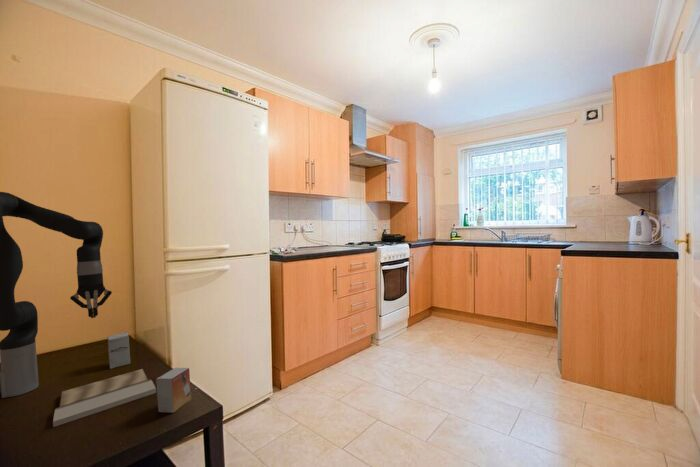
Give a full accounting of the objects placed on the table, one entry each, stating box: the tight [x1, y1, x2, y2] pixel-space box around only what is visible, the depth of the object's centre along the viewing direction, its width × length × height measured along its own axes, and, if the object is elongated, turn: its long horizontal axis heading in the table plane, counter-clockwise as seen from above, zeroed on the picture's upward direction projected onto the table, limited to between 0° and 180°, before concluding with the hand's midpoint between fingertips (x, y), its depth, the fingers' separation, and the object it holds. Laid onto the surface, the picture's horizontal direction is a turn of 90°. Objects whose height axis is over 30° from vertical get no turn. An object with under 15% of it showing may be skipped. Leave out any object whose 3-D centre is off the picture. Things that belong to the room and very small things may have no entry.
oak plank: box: [59, 368, 149, 407], centre depth 113 cm, size 24×14×2 cm, turn 131°
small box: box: [155, 367, 192, 414], centre depth 99 cm, size 8×6×10 cm
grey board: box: [52, 379, 157, 428], centre depth 104 cm, size 26×10×2 cm, turn 131°
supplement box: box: [107, 332, 131, 370], centre depth 137 cm, size 7×7×13 cm
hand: (93, 317), depth 120 cm, fingers closed
